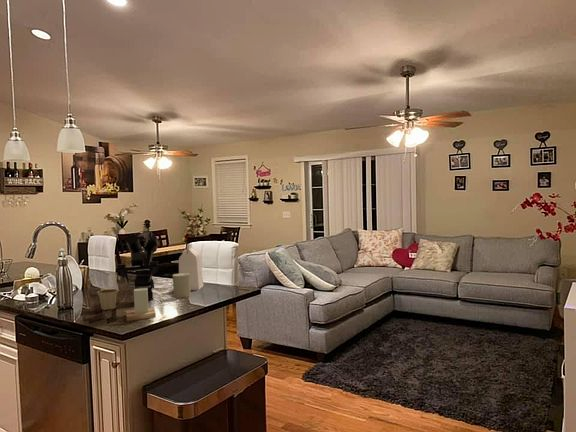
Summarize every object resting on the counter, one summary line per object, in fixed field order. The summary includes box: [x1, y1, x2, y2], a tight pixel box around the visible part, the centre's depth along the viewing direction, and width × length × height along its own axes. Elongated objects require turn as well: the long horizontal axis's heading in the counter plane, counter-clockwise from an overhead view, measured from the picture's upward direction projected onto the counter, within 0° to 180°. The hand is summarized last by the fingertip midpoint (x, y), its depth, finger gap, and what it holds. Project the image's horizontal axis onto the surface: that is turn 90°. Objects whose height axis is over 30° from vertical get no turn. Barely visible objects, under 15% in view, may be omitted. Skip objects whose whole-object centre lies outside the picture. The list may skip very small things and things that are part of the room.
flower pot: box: [96, 288, 119, 311], centre depth 212 cm, size 9×9×9 cm
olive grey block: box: [172, 272, 192, 299], centre depth 235 cm, size 9×9×12 cm
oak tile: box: [125, 307, 157, 322], centre depth 195 cm, size 12×12×2 cm
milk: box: [178, 243, 204, 291], centre depth 256 cm, size 12×12×26 cm
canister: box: [133, 288, 149, 314], centre depth 195 cm, size 6×6×10 cm
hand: (138, 282), depth 203 cm, fingers open, 9 cm apart
